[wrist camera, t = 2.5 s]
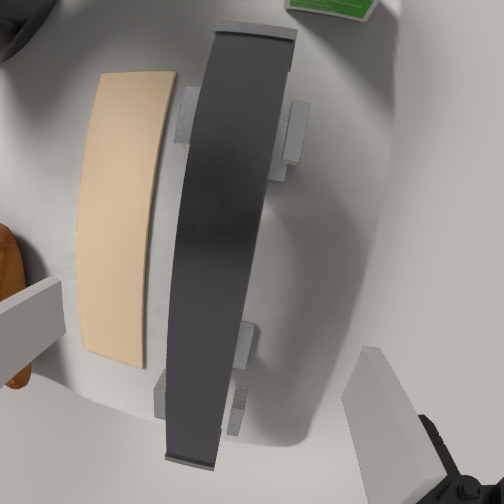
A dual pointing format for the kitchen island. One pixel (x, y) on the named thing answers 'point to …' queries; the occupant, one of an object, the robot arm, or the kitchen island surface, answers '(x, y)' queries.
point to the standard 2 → (286, 137)
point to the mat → (118, 210)
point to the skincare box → (336, 7)
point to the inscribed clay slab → (12, 287)
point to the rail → (220, 228)
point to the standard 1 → (240, 390)
